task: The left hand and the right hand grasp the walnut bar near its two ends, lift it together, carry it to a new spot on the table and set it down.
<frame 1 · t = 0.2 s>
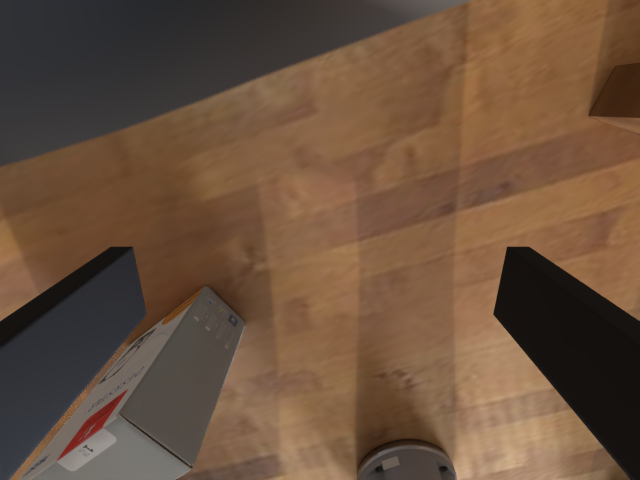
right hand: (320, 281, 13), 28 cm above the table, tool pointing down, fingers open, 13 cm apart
hard drive box: (186, 334, 47), on the table
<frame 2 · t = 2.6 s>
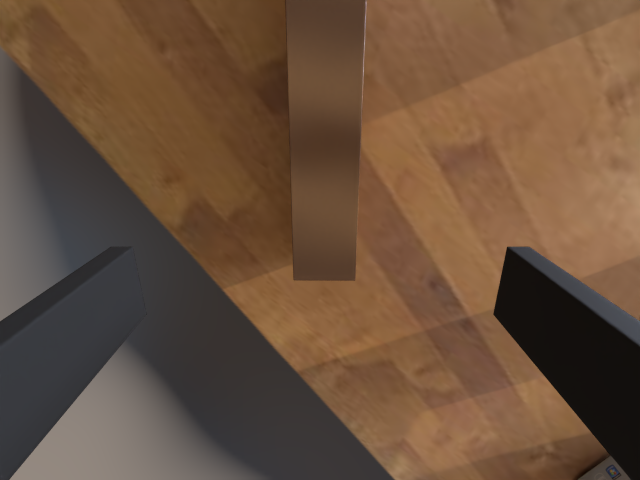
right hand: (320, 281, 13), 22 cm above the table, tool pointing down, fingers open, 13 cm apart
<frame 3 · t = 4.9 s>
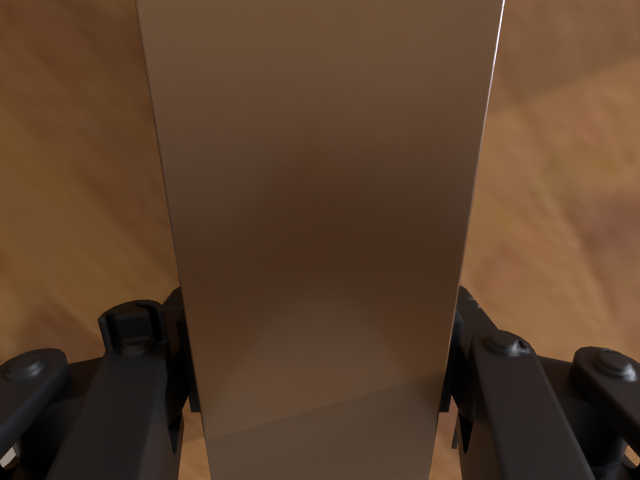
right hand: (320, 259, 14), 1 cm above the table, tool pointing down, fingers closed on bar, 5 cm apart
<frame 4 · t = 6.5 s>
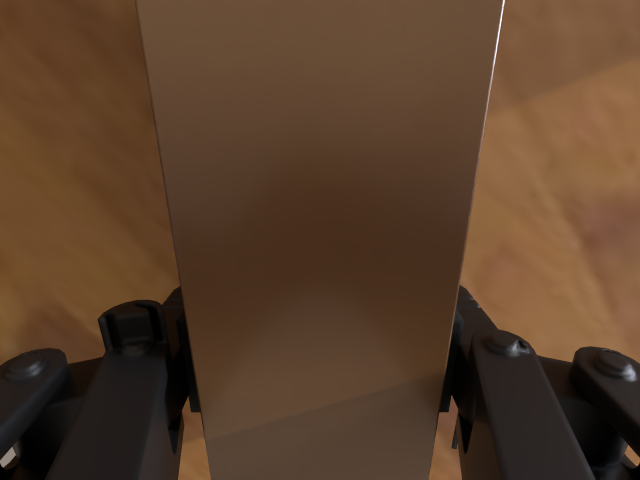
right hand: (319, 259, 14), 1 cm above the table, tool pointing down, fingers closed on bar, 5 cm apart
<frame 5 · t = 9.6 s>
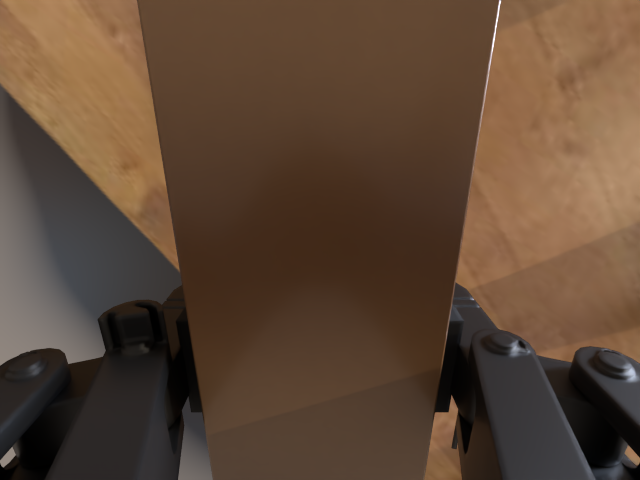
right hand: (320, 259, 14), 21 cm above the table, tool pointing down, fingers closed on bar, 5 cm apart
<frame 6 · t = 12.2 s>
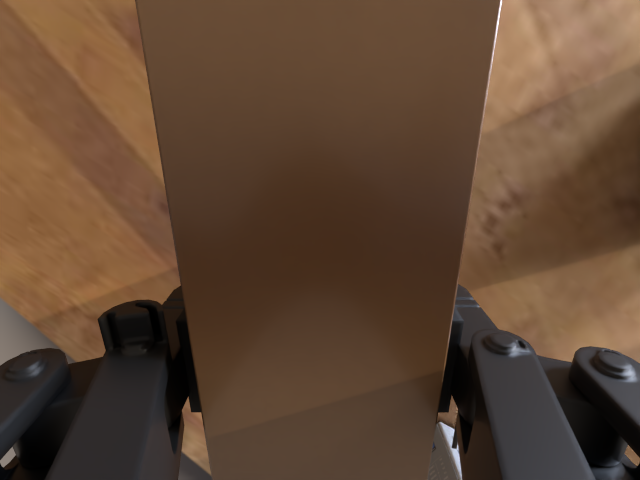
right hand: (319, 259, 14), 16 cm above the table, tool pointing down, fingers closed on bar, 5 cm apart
hard drive box: (466, 464, 41), on the table
when the right hand's fingers open (2 cm above the table, at t = 14.1 s): bar drops 1 cm, on the table.
when the left hand's fingers open (5 cm above the table, at t = 14.3 s): bar stays where it is, on the table.
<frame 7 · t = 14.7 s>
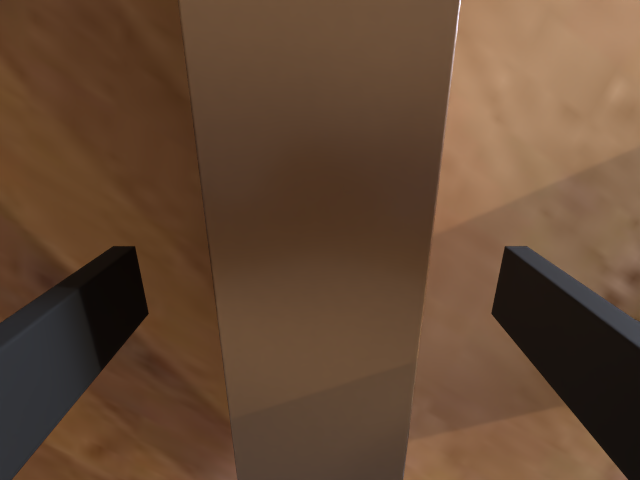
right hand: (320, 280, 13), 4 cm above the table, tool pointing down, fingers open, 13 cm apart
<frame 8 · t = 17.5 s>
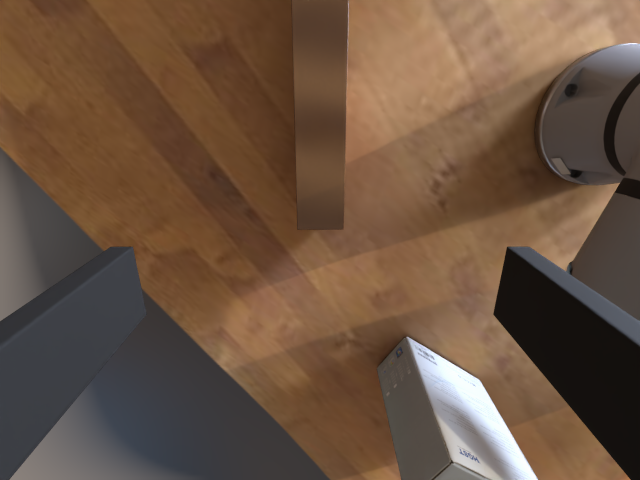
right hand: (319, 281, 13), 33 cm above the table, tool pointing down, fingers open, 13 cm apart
hard drive box: (428, 373, 55), on the table
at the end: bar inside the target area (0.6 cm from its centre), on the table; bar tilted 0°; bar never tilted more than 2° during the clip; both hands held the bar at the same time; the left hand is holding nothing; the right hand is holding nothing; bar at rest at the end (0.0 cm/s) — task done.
